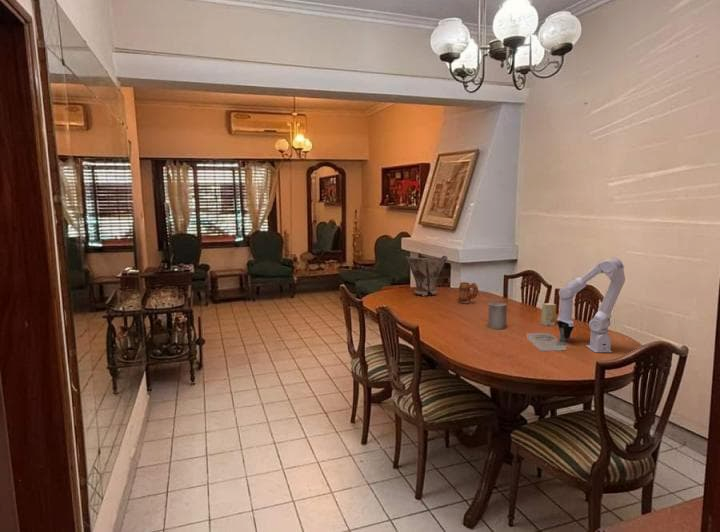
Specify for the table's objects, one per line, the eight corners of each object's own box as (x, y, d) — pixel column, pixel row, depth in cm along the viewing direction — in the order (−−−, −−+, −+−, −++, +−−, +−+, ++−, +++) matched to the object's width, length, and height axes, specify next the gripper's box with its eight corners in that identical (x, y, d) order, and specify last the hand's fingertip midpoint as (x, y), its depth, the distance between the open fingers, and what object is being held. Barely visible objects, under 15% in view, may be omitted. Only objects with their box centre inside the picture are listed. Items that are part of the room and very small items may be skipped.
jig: (565, 350, 216) (566, 345, 215) (540, 350, 216) (540, 345, 216) (549, 337, 236) (550, 332, 235) (526, 337, 236) (526, 333, 236)
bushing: (570, 342, 227) (571, 328, 226) (561, 342, 227) (562, 329, 226) (567, 339, 232) (567, 326, 231) (558, 339, 232) (559, 326, 231)
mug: (455, 302, 315) (455, 281, 313) (462, 301, 321) (462, 280, 318) (473, 306, 305) (473, 284, 302) (480, 304, 310) (480, 282, 308)
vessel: (450, 292, 349) (450, 254, 345) (441, 299, 325) (441, 258, 321) (413, 290, 361) (413, 252, 357) (402, 296, 337) (402, 257, 333)
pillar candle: (500, 324, 262) (501, 298, 260) (509, 328, 252) (510, 302, 250) (485, 325, 260) (485, 300, 258) (493, 330, 250) (494, 303, 248)
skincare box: (545, 326, 256) (546, 305, 254) (540, 324, 260) (541, 303, 258) (555, 325, 258) (556, 304, 256) (550, 323, 262) (551, 302, 260)
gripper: (552, 307, 234) (551, 332, 236) (563, 314, 220) (562, 341, 222) (566, 306, 234) (564, 332, 236) (578, 314, 220) (577, 341, 222)
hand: (564, 336), depth 229 cm, fingers closed on bushing, 4 cm apart
